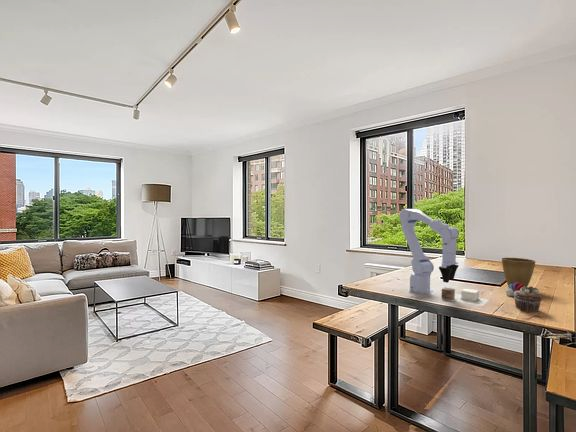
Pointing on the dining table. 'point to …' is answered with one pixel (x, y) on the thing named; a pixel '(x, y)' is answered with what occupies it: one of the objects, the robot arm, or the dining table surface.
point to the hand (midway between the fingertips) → (448, 280)
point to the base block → (470, 294)
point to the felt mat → (479, 302)
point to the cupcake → (528, 299)
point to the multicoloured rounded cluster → (514, 289)
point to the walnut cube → (448, 293)
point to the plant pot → (518, 270)
